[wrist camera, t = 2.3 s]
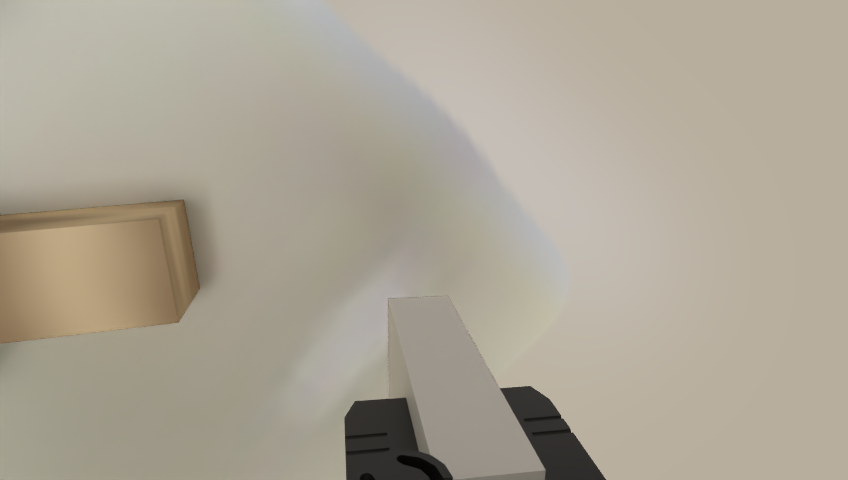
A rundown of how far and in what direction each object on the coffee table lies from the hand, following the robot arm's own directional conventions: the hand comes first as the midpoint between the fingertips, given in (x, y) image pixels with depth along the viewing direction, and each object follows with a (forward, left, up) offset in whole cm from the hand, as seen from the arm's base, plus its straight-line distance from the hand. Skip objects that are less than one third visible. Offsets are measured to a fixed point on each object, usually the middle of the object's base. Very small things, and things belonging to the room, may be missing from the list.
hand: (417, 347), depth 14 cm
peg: (-13, 0, -10) cm, 16 cm away
